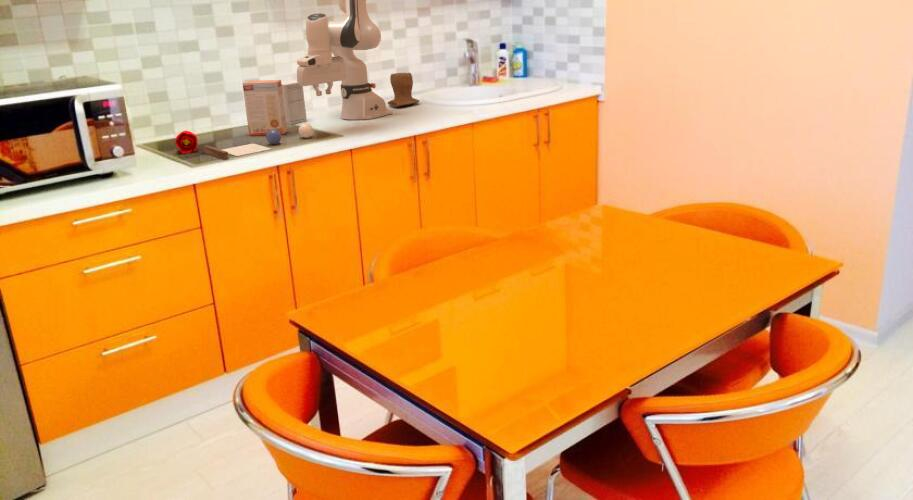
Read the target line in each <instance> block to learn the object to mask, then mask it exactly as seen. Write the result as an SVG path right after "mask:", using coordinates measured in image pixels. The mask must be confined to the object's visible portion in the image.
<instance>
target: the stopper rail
mask: <svg viewBox="0 0 913 500" xmlns="http://www.w3.org/2000/svg"><path fill="white" fill-rule="evenodd" d="M203 151H204V152H203V153H204V154H206V155H209V156H213V157H216V158H218V159H222V160H225V161H226V160H229V159H230V157H229V154H228V152H226V151H223V150H222V149H220V148H216V147H214V146H210V145H203Z"/></svg>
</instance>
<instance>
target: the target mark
mask: <svg viewBox="0 0 913 500" xmlns="http://www.w3.org/2000/svg"><path fill="white" fill-rule="evenodd" d="M221 150H223V151H226V152H228V155H231V156H234V157H241V156H247V155H250V154H256V153H261V152H266V151H270V150H272V148H271V147H267V146H264V145H260V144H257V143H249V144H244V145H239V146H233V147H227V148H224V149H223V148H222V149H221Z"/></svg>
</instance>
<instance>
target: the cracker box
mask: <svg viewBox="0 0 913 500" xmlns="http://www.w3.org/2000/svg"><path fill="white" fill-rule="evenodd" d="M281 81H282V79H267V80H265V79H263V80H247V81H246V80H245V82H242V91H243V97H244V105H245V112H246V113H245V114H246V122H247V127H248V134H249V136H266V135H267V133H268V131H270V130H277V131H279V132H280V134H281V136H283V135H284V134H286V133H287V132H288V127H287V124H286V117H285V109H284V100H283V92H282V84H281Z"/></svg>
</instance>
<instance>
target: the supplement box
mask: <svg viewBox="0 0 913 500" xmlns="http://www.w3.org/2000/svg"><path fill="white" fill-rule="evenodd" d="M281 84H282V92H283V100H284V109H285V117H286V126H287V125H288V126H290V125H294V124H295V125H296V124H299V123H305V122H307V112H306V110H307V109H306V103H305V94H304V86H300V85H299V84H298V82H297V80H294V79H289V80H281Z"/></svg>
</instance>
